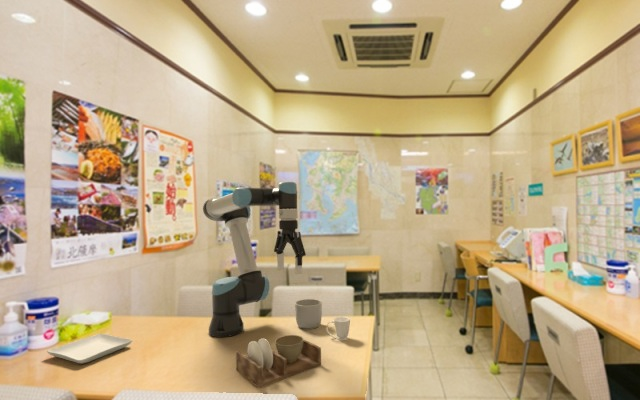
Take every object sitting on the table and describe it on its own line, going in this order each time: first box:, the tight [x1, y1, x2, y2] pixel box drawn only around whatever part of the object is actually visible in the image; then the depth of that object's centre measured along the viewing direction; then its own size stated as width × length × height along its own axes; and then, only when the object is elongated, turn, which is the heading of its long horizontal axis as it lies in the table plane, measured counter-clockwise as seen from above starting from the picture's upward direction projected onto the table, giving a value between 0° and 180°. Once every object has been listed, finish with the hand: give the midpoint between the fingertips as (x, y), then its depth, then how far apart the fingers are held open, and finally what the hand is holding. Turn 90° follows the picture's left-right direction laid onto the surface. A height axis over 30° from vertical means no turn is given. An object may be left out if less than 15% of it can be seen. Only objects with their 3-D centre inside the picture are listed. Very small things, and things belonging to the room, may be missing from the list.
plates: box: [246, 337, 273, 370], centre depth 117 cm, size 10×4×10 cm, turn 38°
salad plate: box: [46, 333, 133, 365], centre depth 139 cm, size 21×21×3 cm
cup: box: [326, 316, 351, 342], centre depth 147 cm, size 7×10×8 cm
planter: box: [294, 298, 323, 330], centre depth 164 cm, size 12×12×11 cm
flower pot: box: [274, 334, 305, 363], centre depth 124 cm, size 10×10×7 cm
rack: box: [235, 339, 322, 388], centre depth 121 cm, size 16×24×6 cm, turn 128°
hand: (289, 271), depth 145 cm, fingers open, 13 cm apart
